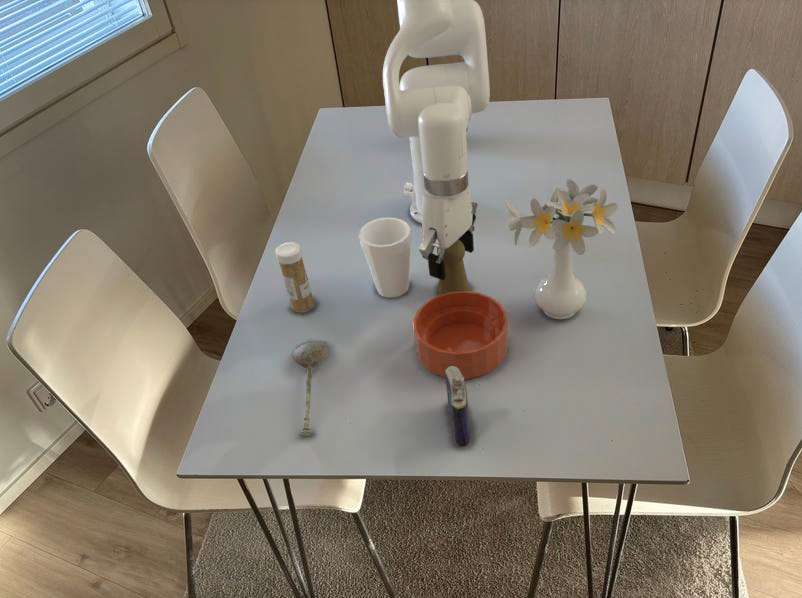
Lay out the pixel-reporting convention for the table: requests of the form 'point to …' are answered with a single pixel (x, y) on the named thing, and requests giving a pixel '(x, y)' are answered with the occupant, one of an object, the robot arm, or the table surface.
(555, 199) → the flower vase
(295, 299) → the sprinkles bottle
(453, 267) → the olive peg figure
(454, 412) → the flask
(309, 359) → the soupspoon
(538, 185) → the table surface
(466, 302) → the orange plant pot
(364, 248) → the foam cup
